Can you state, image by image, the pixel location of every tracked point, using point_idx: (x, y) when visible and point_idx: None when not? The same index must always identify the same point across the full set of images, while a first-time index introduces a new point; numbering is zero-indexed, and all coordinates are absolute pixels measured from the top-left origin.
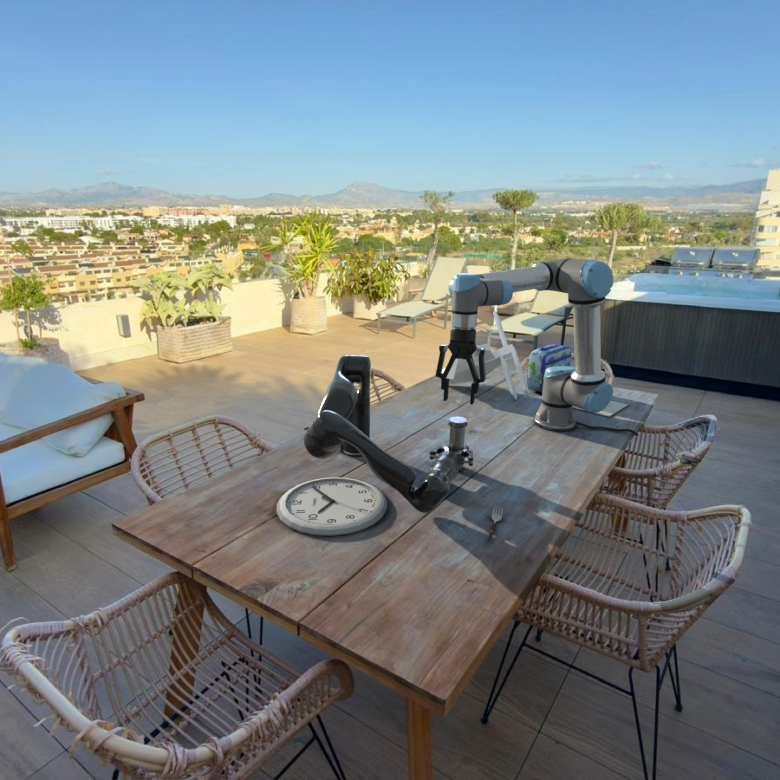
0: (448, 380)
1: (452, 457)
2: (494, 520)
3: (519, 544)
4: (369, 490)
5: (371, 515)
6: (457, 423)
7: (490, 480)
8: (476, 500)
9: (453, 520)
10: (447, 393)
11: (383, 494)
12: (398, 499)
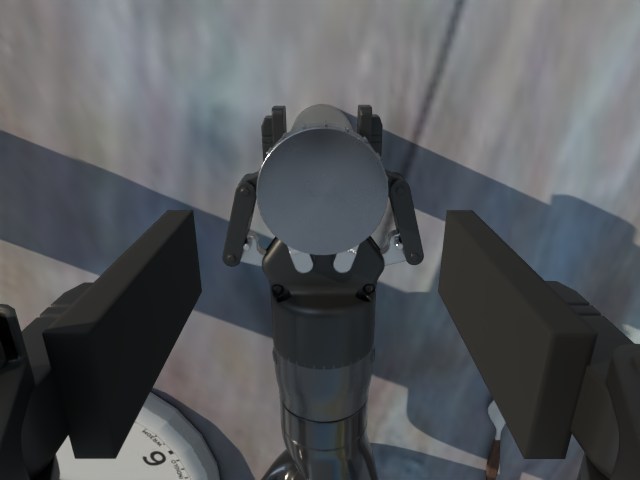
0: (107, 354)
1: (349, 355)
2: (497, 428)
3: (554, 477)
4: None
5: None
6: (333, 253)
7: (472, 192)
8: (437, 338)
9: (391, 443)
10: (177, 272)
11: (173, 415)
12: (219, 405)
